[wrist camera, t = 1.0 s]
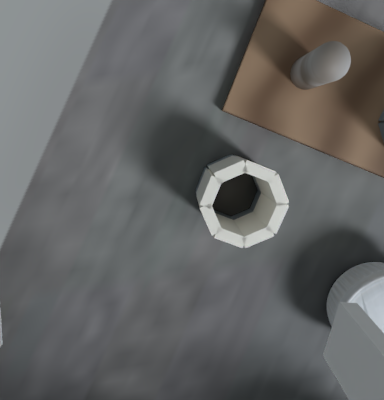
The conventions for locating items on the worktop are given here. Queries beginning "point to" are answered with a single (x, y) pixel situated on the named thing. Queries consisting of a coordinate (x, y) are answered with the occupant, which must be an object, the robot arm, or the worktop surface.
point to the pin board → (324, 104)
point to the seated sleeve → (381, 124)
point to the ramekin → (360, 291)
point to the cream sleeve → (251, 218)
